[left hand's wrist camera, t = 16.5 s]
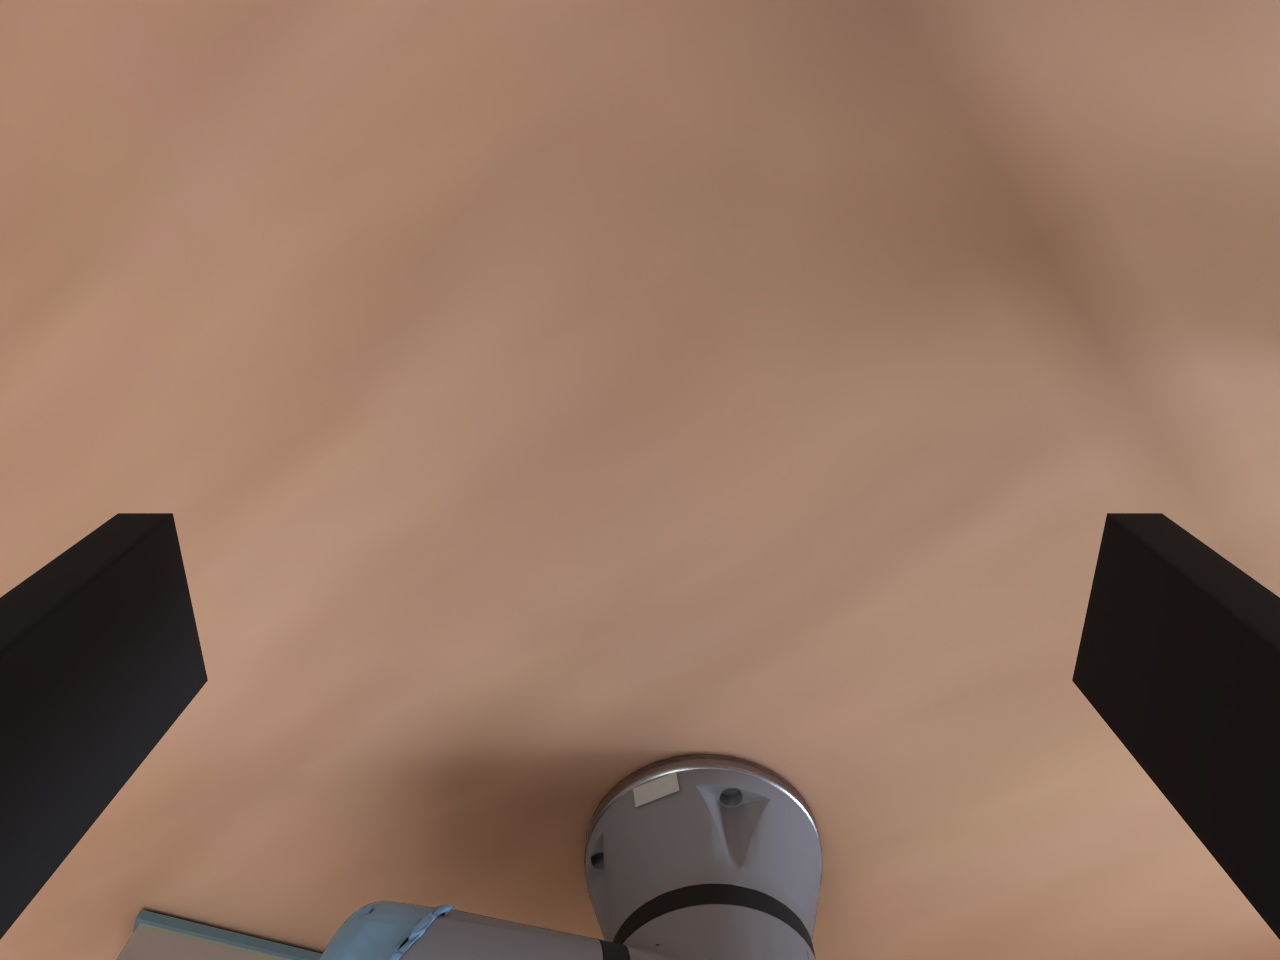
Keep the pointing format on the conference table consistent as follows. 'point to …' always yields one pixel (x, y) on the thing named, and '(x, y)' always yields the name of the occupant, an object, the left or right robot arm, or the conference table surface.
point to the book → (200, 942)
